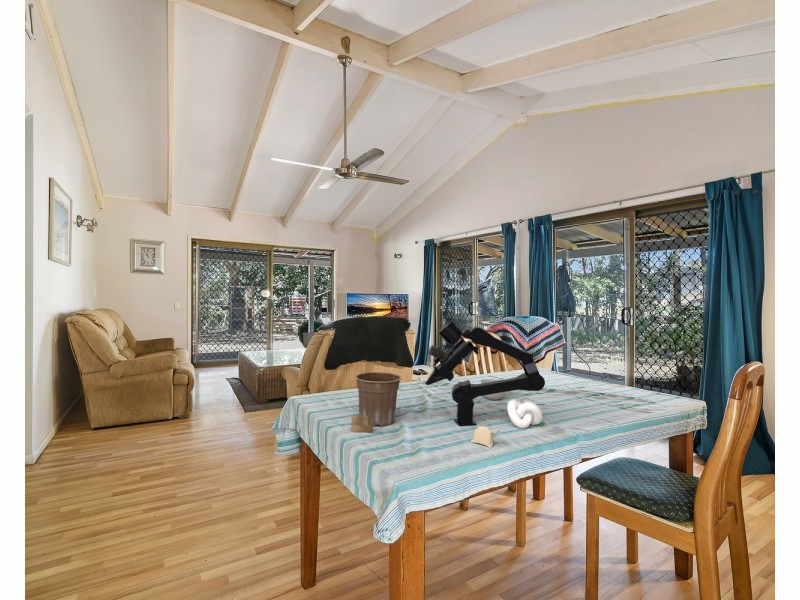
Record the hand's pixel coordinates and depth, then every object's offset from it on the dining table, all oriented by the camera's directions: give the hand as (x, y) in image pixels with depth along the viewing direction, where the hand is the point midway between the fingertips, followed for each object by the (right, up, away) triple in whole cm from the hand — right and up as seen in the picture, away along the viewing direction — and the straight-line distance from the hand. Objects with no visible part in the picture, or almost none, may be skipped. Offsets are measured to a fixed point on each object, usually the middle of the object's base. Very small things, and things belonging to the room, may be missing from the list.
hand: (426, 384), depth 146 cm
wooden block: (-22, -13, +1) cm, 25 cm away
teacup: (+33, -14, +34) cm, 49 cm away
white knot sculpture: (+34, -14, 0) cm, 37 cm away
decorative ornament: (+17, -15, -20) cm, 30 cm away
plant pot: (-17, -14, 0) cm, 22 cm away
